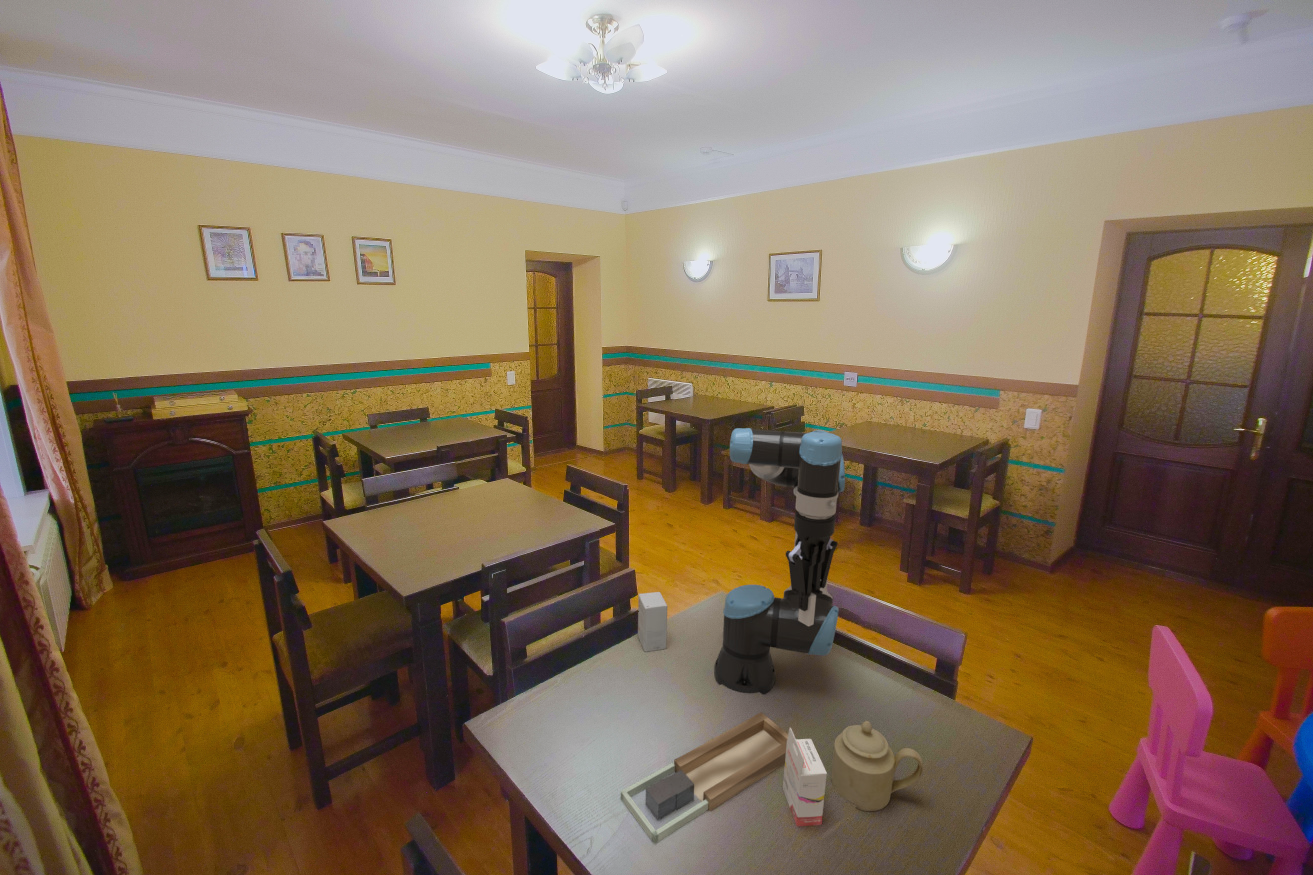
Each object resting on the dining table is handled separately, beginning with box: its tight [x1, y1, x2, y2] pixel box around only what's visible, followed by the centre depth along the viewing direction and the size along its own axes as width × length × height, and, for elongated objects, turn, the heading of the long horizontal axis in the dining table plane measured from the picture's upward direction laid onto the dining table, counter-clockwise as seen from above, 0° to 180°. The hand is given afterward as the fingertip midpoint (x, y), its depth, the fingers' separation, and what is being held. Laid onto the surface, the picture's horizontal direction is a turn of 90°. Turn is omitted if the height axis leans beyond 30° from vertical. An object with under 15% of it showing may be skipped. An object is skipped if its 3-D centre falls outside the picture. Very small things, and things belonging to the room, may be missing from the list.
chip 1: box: [645, 778, 677, 821], centre depth 102 cm, size 4×4×4 cm
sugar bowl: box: [830, 720, 925, 812], centre depth 107 cm, size 15×11×15 cm
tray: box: [620, 762, 709, 845], centre depth 103 cm, size 11×12×2 cm
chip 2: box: [663, 770, 695, 811], centre depth 104 cm, size 4×4×4 cm
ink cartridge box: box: [782, 726, 828, 827], centre depth 102 cm, size 9×5×15 cm, turn 5°
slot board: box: [673, 712, 789, 812], centre depth 113 cm, size 11×24×4 cm, turn 125°
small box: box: [637, 591, 668, 652], centre depth 153 cm, size 8×6×13 cm
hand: (805, 622), depth 114 cm, fingers closed
